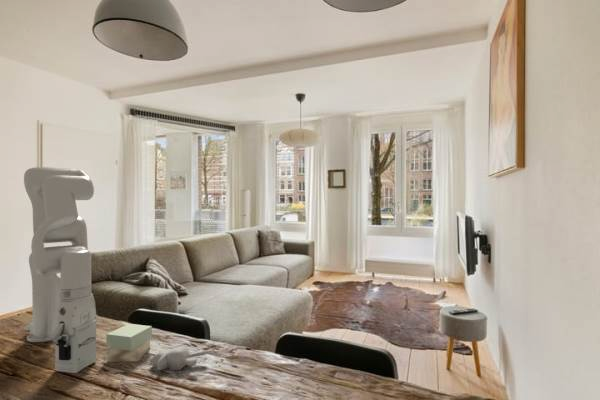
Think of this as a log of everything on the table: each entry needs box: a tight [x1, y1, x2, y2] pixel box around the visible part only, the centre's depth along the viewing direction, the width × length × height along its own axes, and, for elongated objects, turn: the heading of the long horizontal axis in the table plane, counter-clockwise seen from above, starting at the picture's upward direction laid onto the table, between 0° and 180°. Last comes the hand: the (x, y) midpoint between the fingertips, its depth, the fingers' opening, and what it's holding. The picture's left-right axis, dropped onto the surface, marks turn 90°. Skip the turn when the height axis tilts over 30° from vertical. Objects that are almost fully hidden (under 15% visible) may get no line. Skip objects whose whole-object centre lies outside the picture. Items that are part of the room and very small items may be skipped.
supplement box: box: [54, 320, 97, 374], centre depth 98 cm, size 7×7×13 cm
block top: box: [106, 323, 153, 351], centre depth 105 cm, size 9×9×4 cm
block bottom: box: [106, 339, 151, 363], centre depth 105 cm, size 9×9×4 cm
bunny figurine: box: [149, 345, 207, 371], centre depth 98 cm, size 10×5×15 cm
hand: (76, 352), depth 98 cm, fingers closed on supplement box, 7 cm apart
